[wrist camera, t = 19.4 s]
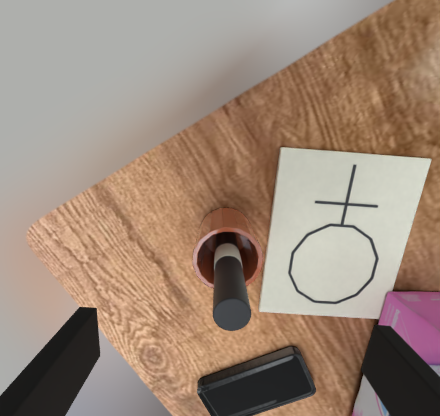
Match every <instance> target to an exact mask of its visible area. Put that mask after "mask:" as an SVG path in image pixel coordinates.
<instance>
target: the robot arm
mask: <svg viewBox="0 0 440 416" xmlns="http://www.w3.org/2000/svg"><path fill="white" fill-rule="evenodd" d="M99 357H100V346H99V334H98V320H97V308H89V307H79V309H78V310H77V311H76V312H75V313H74V314H73V315H72V316H71V317H70V318H69V320H68V321H67V322H66V323H65V324H64V325H63V326H62V327H61V329H60V330H59V331H58V332H57V333H56V334H55V335H54V336H53V337H52V339H51V340H50V341H49V342H48V343H47V344H46V345H45V347H44V348H43V349H42V350H41V351H40V352H39V353H38V354H37V355H36V356H35V358H34V359H33V360H32V361H31V362H30V363H29V364H28V365H27V367H26V368H25V369H24V370H23V371H22V372H21V373H20V375H19V376H18V377H17V378H16V379H15V380H14V381H13V382H12V383H11V384H10V386H9V387H8V388H7V389H6V390H5V391H4V392H3V393H2V395H1V396H0V416H65V415H66V413H67V412H68V410H69V408H70V406H71V404H72V403H73V401H74V399H75V398H76V396H77V394H78V393H79V391H80V389H81V387H82V386H83V384H84V382H85V380H86V379H87V377H88V376H89V374H90V372H91V370H92V369H93V367H94V365H95V363H96V362H97V360H98V358H99ZM361 371H362V373H363V374H364V376H365V377H366V379H367V380H368V382H369V383H370V385H371V387H372V388H373V390H374V391H375V393H376V394H377V396H378V397H379V399H380V400H381V402H382V404H383V405H384V407H385V408H386V410H387V411H388V413H389V414H390V416H440V376H439V375H438V374H437V373H436V372H435V371H434V370H433V369H432V368H431V367H430V366H429V365H428V364H427V363H426V362H425V361H424V360H423V359H422V358H421V357H420V356H419V355H418V354H417V353H416V352H415V351H414V350H413V349H412V348H411V347H410V346H409V345H408V344H407V343H406V341H405V340H404V339H403V338H402V337H401V336H400V335H399V334H398V333H397V332H396V331H395V330H394V329H393V328H392V327H391V326H385V325H374V328H373V331H372V335H371V338H370V341H369V345H368V348H367V351H366V354H365V358H364V361H363V364H362V368H361Z"/></svg>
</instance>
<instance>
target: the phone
mask: <svg viewBox="0 0 440 416" xmlns="http://www.w3.org/2000/svg"><path fill="white" fill-rule="evenodd" d="M315 392H316V387H315V385H314V383H313V380H312V378H311V376H310V373H309V371H308V369H307V366H306V364H305V362H304V360H303V357H302V355H301V353H300V351H299V349H298V348H296V347H288V348H285V349H282V350H279V351H277V352H274V353H271V354H268V355H265V356H262V357H260V358H257V359H254V360H251V361H248V362H246V363H243V364H240V365H237V366H234V367H232V368H229V369H226V370H223V371H220V372H218V373H215V374H212V375H209V376H206V377H203V378H201V379H200V380H199V381H198V389H197V393H198V395H199V397H200V399H201V400H202V402H203V404H204V405H205V407H206V408H207V410H208V412H209V413H210V415H211V416H253V415H256V414H259V413H262V412H265V411H268V410H271V409H274V408H277V407H280V406H283V405H286V404H289V403H292V402H295V401H298V400H301V399H304V398H307V397H310V396H312V395H314V394H315Z"/></svg>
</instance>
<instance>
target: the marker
mask: <svg viewBox="0 0 440 416" xmlns="http://www.w3.org/2000/svg"><path fill="white" fill-rule="evenodd" d="M213 318H214V321H215V322H216V324H217V325H218V326H219V327H221V328H222V329H225V330H229V331H235V330H239V329H241V328H243V327H244V326H246V325H247V324H248V322H249V320H250V318H251V309H250V304H249V299H248V294H247V289H246V284H245V279H244V274H243V269H242V261H241V257H240V252H239V250H238V245H237V240H236V235H235V232H221V233H218V234H216V246H215V257H214V296H213Z"/></svg>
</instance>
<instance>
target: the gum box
mask: <svg viewBox="0 0 440 416" xmlns="http://www.w3.org/2000/svg"><path fill="white" fill-rule="evenodd" d="M378 325H385V326H391V327H392V328H393V329H394V330H395V331H396V332H397V333H398V334H399V335H400V336H401V337H402V338H403V339H404V340H405V341H406V343H407V344H408V345H409V346H410V347H411V348H412V349H413V350H414V351H415V352H416V353H417V354H418V355H419V356H420V357H421V358H422V359H423V360H424V361H425V362H426V363H427V364H428V365H429V366H430V367H431V368H432V369H433V370H434V371H435V372H436V373H437V374H438V375H439V376H440V292H415V291H410V292H388V294H387V297H386V300H385V304H384V307H383V311H382V314H381V317H380V320H379V323H378ZM352 416H390V414H389V413H388V411H387V410H386V408H385V407H384V405H383V404H382V402H381V400H380V399H379V397H378V396H377V394H376V393H375V391H374V390H373V388H372V387H371V385H370V383H369V382H368V380H367V379H366V377H365V376H364V374H363V378H362V381H361V386H360V390H359V393H358V396H357V399H356V402H355V406H354V410H353V414H352Z"/></svg>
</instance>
